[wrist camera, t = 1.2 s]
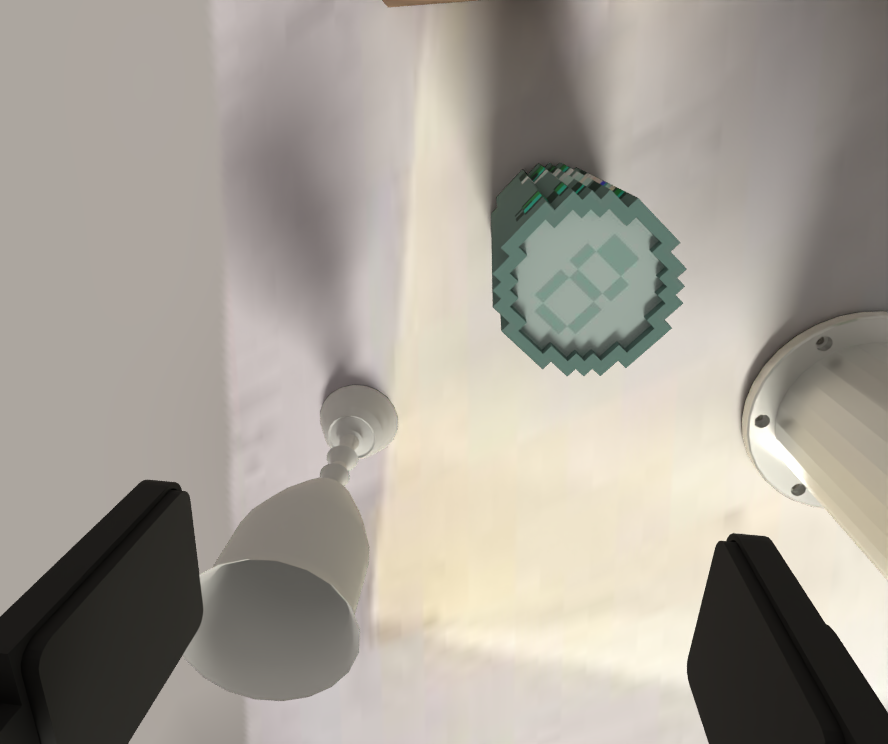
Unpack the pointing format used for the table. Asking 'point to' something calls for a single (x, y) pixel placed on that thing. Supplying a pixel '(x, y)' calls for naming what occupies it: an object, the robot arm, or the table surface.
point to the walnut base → (417, 2)
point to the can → (580, 270)
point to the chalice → (295, 571)
